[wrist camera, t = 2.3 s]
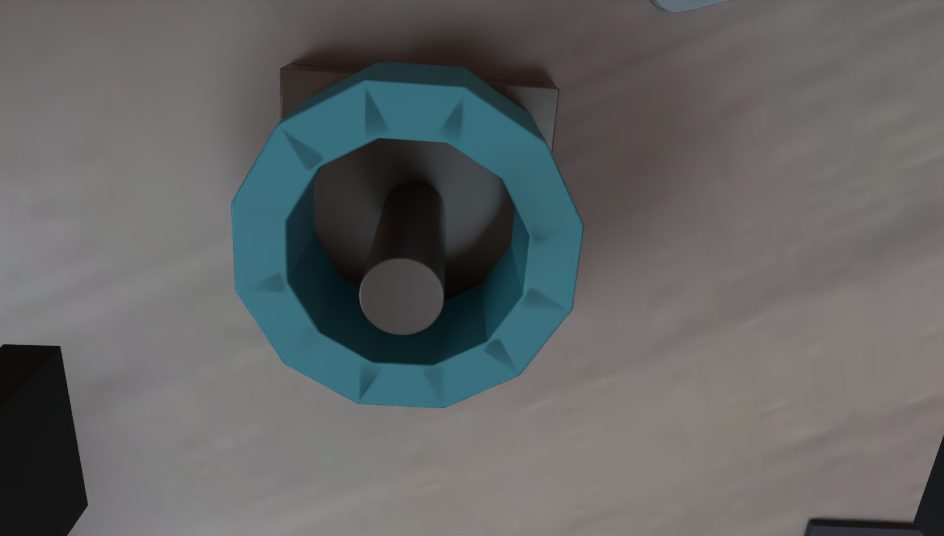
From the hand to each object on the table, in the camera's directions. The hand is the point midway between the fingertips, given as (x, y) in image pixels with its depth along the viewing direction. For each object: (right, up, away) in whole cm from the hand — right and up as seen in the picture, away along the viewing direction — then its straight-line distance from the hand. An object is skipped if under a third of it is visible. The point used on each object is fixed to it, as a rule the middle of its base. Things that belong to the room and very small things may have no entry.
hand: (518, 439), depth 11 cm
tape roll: (-3, +5, +17) cm, 18 cm away
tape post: (-3, +5, +18) cm, 19 cm away
